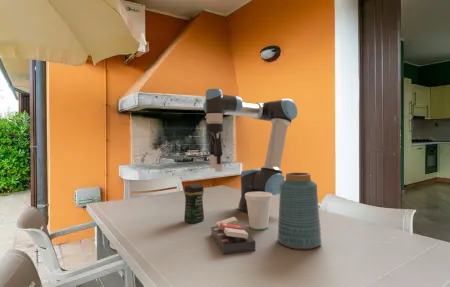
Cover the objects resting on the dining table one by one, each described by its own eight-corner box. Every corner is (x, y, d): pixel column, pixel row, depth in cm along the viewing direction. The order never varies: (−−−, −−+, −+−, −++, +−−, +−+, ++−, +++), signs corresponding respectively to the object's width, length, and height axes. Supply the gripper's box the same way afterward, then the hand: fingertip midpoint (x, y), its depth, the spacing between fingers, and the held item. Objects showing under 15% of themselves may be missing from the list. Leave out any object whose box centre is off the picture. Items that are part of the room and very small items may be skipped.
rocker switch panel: (233, 227, 125) (233, 217, 125) (255, 250, 98) (255, 238, 98) (208, 229, 122) (208, 219, 122) (223, 254, 95) (222, 241, 95)
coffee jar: (192, 224, 130) (191, 186, 130) (181, 221, 135) (181, 184, 135) (207, 220, 137) (206, 183, 137) (196, 217, 142) (196, 182, 142)
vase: (315, 254, 94) (314, 177, 94) (271, 245, 103) (270, 175, 102) (325, 239, 108) (324, 172, 108) (286, 232, 116) (284, 170, 116)
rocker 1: (234, 220, 116) (233, 216, 116) (238, 223, 112) (237, 219, 112) (217, 226, 114) (216, 222, 114) (219, 229, 110) (218, 225, 110)
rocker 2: (238, 229, 110) (239, 224, 110) (242, 232, 105) (243, 228, 105) (219, 226, 108) (220, 222, 108) (222, 230, 103) (223, 225, 104)
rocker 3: (243, 234, 104) (244, 229, 104) (247, 238, 99) (248, 233, 99) (223, 231, 102) (224, 227, 102) (226, 235, 97) (227, 231, 97)
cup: (274, 224, 128) (274, 192, 128) (270, 232, 117) (269, 197, 116) (249, 222, 132) (248, 190, 132) (242, 230, 121) (241, 196, 121)
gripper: (202, 125, 135) (204, 167, 135) (210, 121, 111) (212, 173, 111) (217, 124, 137) (218, 166, 137) (228, 121, 112) (230, 172, 112)
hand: (215, 169), depth 124 cm, fingers open, 13 cm apart
